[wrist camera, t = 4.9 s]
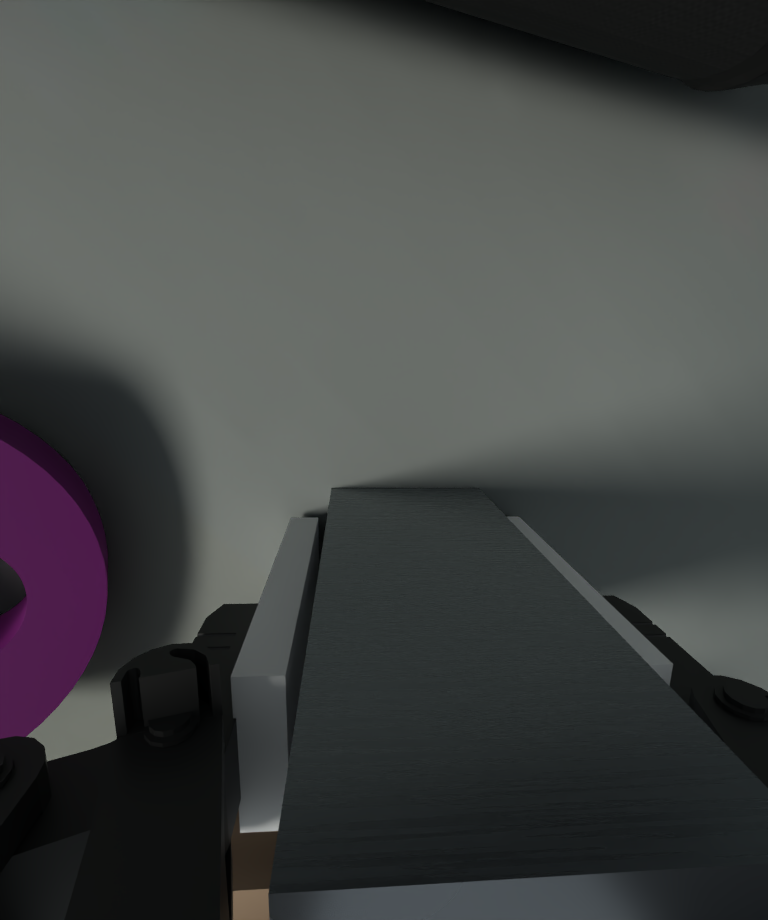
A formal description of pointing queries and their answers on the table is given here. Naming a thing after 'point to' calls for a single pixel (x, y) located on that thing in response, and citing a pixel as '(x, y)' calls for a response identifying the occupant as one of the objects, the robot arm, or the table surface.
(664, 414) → the table surface
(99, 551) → the mounting bracket
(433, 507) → the square peg
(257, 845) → the socket block
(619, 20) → the portable speaker
